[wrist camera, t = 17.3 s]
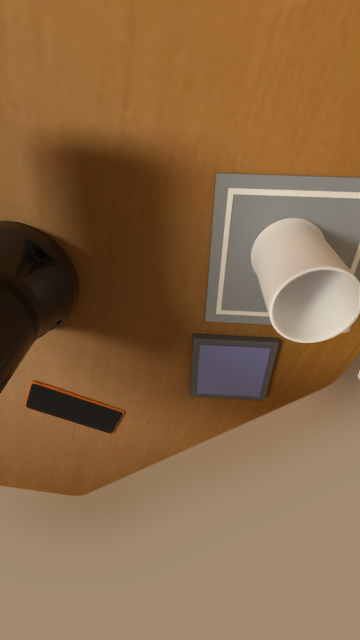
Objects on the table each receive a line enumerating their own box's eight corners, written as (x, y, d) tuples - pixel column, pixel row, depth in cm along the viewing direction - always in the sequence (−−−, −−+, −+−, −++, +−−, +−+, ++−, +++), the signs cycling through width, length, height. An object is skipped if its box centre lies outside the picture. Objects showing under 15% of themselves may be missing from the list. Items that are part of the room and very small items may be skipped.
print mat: (205, 320, 45) (205, 321, 45) (216, 172, 34) (216, 173, 34) (343, 326, 44) (344, 328, 44) (400, 178, 34) (402, 179, 33)
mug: (352, 274, 40) (401, 334, 30) (291, 312, 43) (316, 377, 33) (299, 200, 35) (336, 243, 25) (236, 250, 39) (247, 304, 29)
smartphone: (113, 431, 62) (112, 435, 61) (26, 403, 59) (23, 407, 58) (126, 408, 58) (125, 412, 57) (32, 377, 54) (30, 381, 54)
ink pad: (190, 391, 54) (190, 397, 53) (193, 333, 47) (193, 339, 46) (263, 395, 53) (264, 401, 52) (277, 338, 46) (279, 343, 45)
